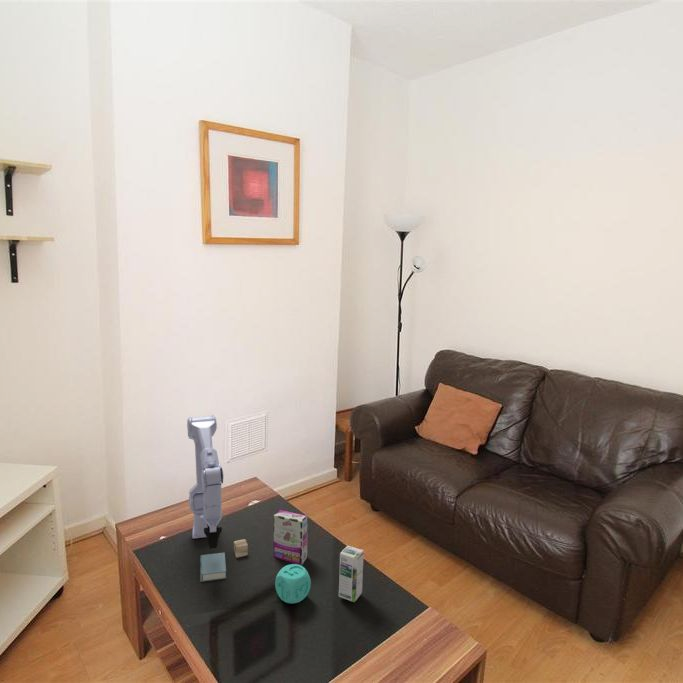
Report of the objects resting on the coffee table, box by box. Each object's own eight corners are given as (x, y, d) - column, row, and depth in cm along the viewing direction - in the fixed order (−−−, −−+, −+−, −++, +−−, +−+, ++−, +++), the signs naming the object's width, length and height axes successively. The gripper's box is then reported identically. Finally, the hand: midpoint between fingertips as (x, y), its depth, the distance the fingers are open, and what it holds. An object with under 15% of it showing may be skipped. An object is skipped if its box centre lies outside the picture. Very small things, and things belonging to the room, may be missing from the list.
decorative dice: (274, 594, 150) (274, 570, 149) (294, 583, 155) (294, 560, 154) (290, 607, 144) (291, 582, 143) (311, 595, 150) (311, 571, 149)
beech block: (233, 554, 171) (233, 541, 170) (245, 552, 172) (245, 539, 172) (236, 560, 167) (236, 547, 167) (247, 558, 169) (247, 544, 168)
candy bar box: (307, 559, 169) (308, 515, 167) (301, 567, 164) (302, 521, 162) (279, 552, 173) (280, 508, 171) (272, 559, 168) (273, 515, 166)
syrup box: (337, 597, 149) (339, 553, 148) (346, 586, 155) (347, 544, 153) (354, 603, 147) (355, 558, 145) (362, 592, 152) (364, 549, 150)
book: (200, 562, 166) (200, 555, 165) (224, 559, 168) (224, 552, 168) (200, 582, 155) (200, 574, 155) (226, 578, 157) (226, 570, 157)
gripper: (200, 494, 164) (200, 531, 166) (199, 514, 150) (200, 555, 152) (221, 492, 166) (221, 529, 168) (222, 512, 152) (223, 552, 154)
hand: (212, 541), depth 160 cm, fingers open, 7 cm apart
